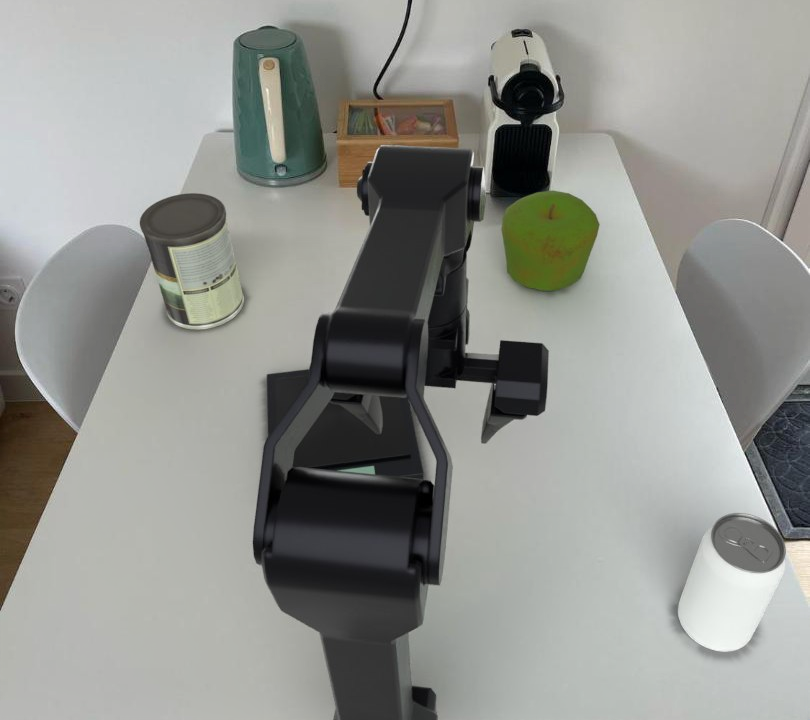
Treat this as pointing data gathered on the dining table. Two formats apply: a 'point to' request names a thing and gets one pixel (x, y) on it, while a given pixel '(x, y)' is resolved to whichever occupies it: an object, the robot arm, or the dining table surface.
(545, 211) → the apple
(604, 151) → the dining table surface
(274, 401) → the scale
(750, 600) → the can
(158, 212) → the coffee can
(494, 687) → the dining table surface
